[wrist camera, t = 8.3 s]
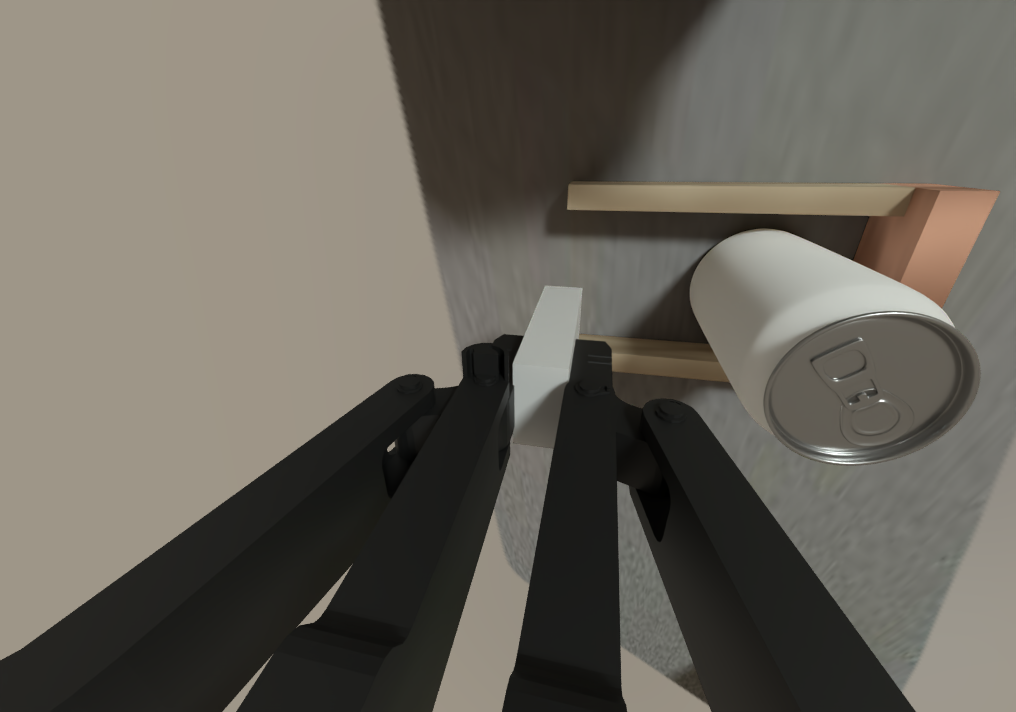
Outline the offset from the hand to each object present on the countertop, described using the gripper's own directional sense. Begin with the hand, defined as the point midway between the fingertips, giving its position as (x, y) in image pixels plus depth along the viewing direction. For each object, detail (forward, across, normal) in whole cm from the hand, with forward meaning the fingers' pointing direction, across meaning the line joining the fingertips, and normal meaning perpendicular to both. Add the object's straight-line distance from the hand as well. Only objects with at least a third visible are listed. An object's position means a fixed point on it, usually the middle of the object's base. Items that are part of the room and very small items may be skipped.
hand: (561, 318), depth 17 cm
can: (+9, +10, -1) cm, 14 cm away
